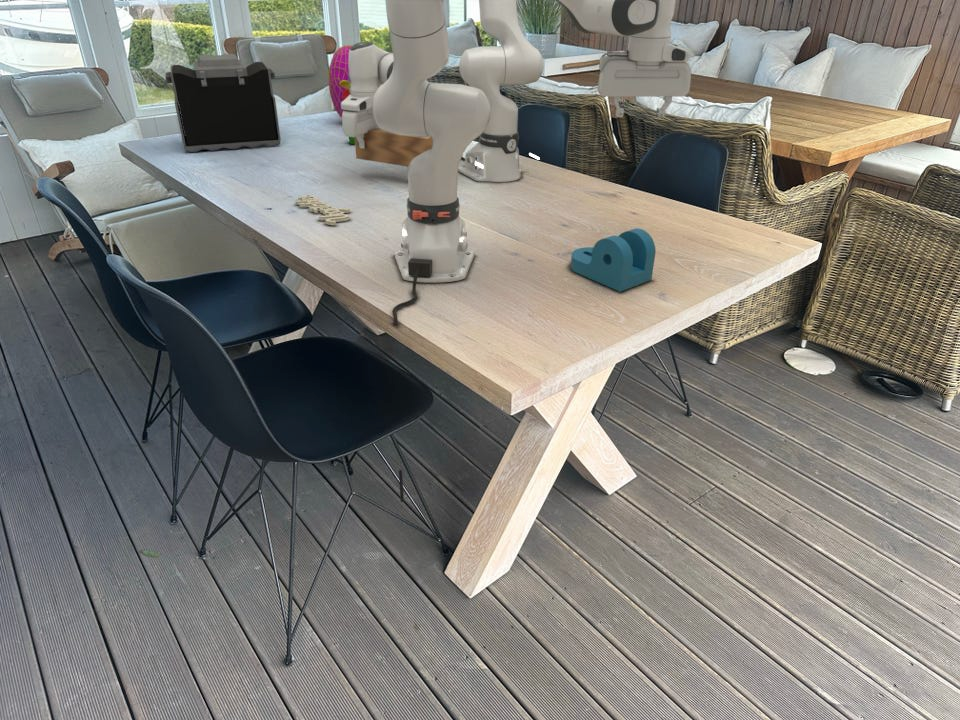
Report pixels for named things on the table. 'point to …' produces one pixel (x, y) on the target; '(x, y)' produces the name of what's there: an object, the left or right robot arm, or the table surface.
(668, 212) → the table surface
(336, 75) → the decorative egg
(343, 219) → the decorative sign
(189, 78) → the electronic device
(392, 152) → the bar
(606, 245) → the camera mount
